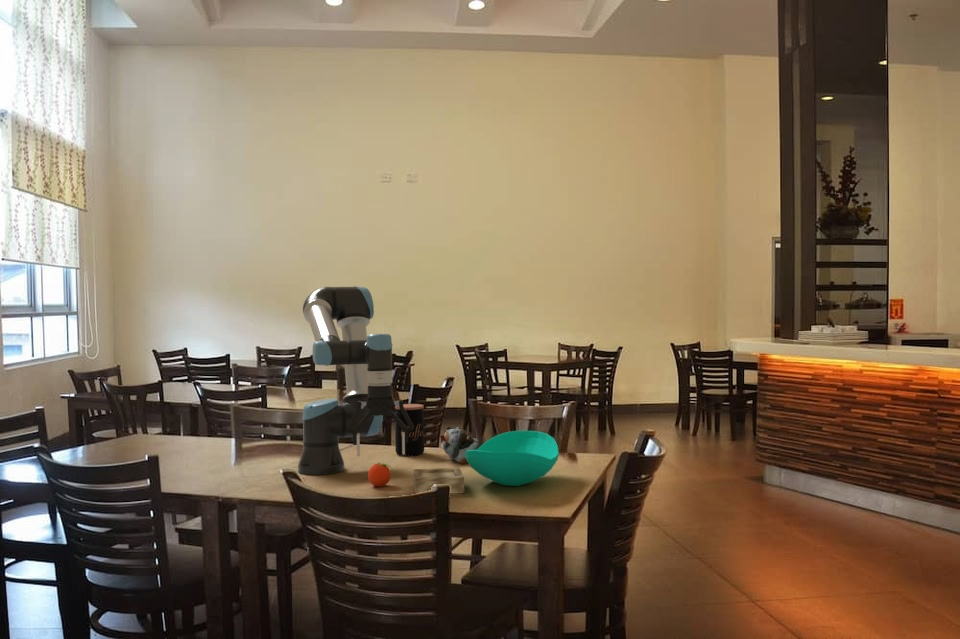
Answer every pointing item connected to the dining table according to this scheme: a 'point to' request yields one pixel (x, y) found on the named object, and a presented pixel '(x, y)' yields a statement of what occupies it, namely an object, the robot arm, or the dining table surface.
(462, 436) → the grey sculpted piece
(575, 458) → the dining table surface
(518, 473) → the table top decor
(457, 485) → the tray
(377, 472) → the clementine
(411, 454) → the coffee jar
